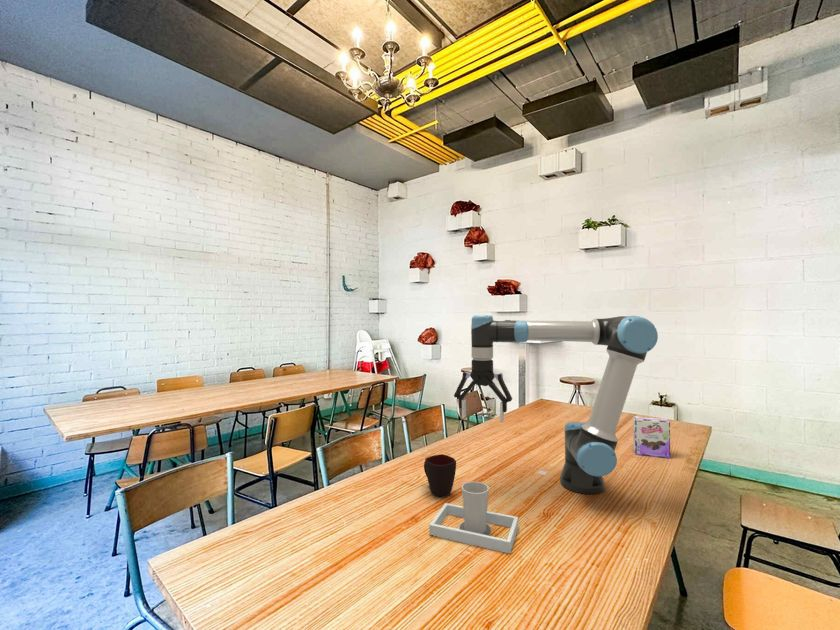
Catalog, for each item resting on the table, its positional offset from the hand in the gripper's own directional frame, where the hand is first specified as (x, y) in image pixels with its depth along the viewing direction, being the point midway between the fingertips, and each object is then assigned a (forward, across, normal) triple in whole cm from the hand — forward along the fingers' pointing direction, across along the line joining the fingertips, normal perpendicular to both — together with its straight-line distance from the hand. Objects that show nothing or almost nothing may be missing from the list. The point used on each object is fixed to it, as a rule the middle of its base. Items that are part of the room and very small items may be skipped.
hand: (482, 419), depth 136 cm
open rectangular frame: (+27, -3, +23) cm, 35 cm away
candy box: (+27, -61, -68) cm, 95 cm away
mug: (+27, +16, +3) cm, 31 cm away
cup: (+26, -3, +22) cm, 35 cm away
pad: (+27, -3, +22) cm, 35 cm away
